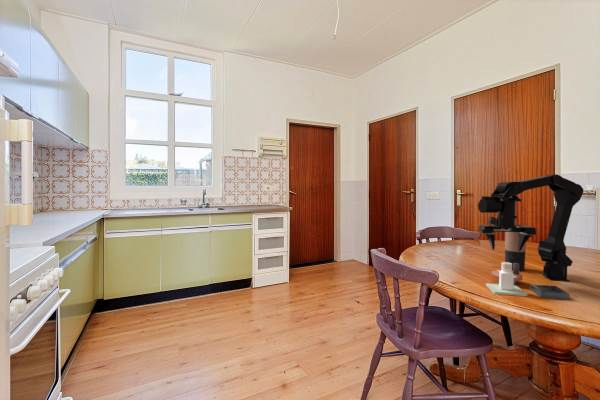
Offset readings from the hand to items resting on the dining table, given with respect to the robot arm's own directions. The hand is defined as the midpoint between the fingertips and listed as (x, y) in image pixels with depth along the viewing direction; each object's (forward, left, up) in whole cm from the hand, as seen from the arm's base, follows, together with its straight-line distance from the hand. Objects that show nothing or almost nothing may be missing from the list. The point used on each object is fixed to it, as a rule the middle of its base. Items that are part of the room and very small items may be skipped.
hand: (506, 250), depth 119 cm
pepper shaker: (+5, +14, -11) cm, 19 cm away
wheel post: (+1, +4, -12) cm, 13 cm away
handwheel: (+1, +4, -10) cm, 11 cm away
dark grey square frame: (-8, +15, -12) cm, 21 cm away
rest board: (+5, +14, -12) cm, 19 cm away
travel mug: (-10, -18, -12) cm, 24 cm away
